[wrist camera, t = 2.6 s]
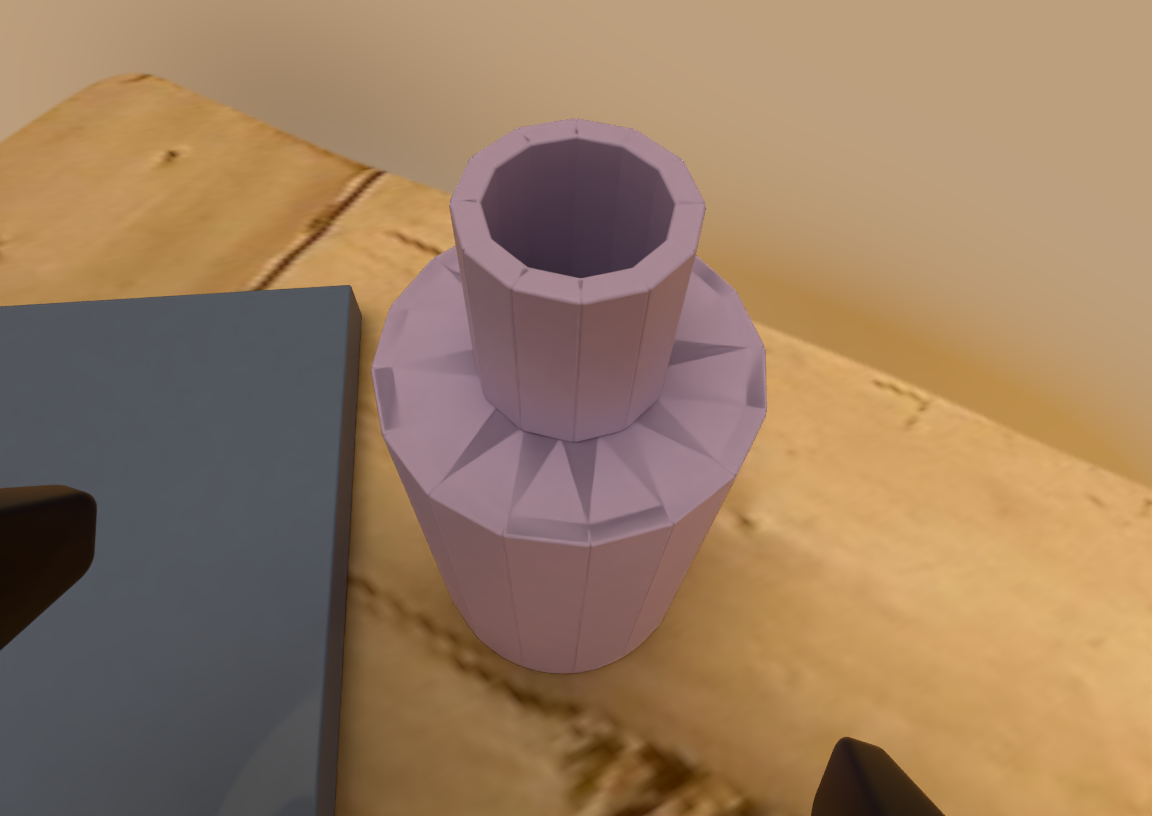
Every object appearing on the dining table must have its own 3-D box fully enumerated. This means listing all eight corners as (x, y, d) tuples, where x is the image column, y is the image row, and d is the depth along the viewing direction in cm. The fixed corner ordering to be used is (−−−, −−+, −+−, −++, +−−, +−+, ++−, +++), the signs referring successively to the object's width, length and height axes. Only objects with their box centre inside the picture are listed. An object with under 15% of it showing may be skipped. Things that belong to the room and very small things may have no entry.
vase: (711, 635, 20) (938, 352, 8) (474, 705, 19) (349, 494, 7) (635, 430, 23) (721, 18, 11) (429, 480, 22) (291, 80, 10)
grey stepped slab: (323, 1081, 15) (299, 1107, 14) (-429, 1190, 14) (-543, 1231, 12) (364, 313, 25) (352, 282, 24) (-72, 342, 24) (-112, 310, 22)
